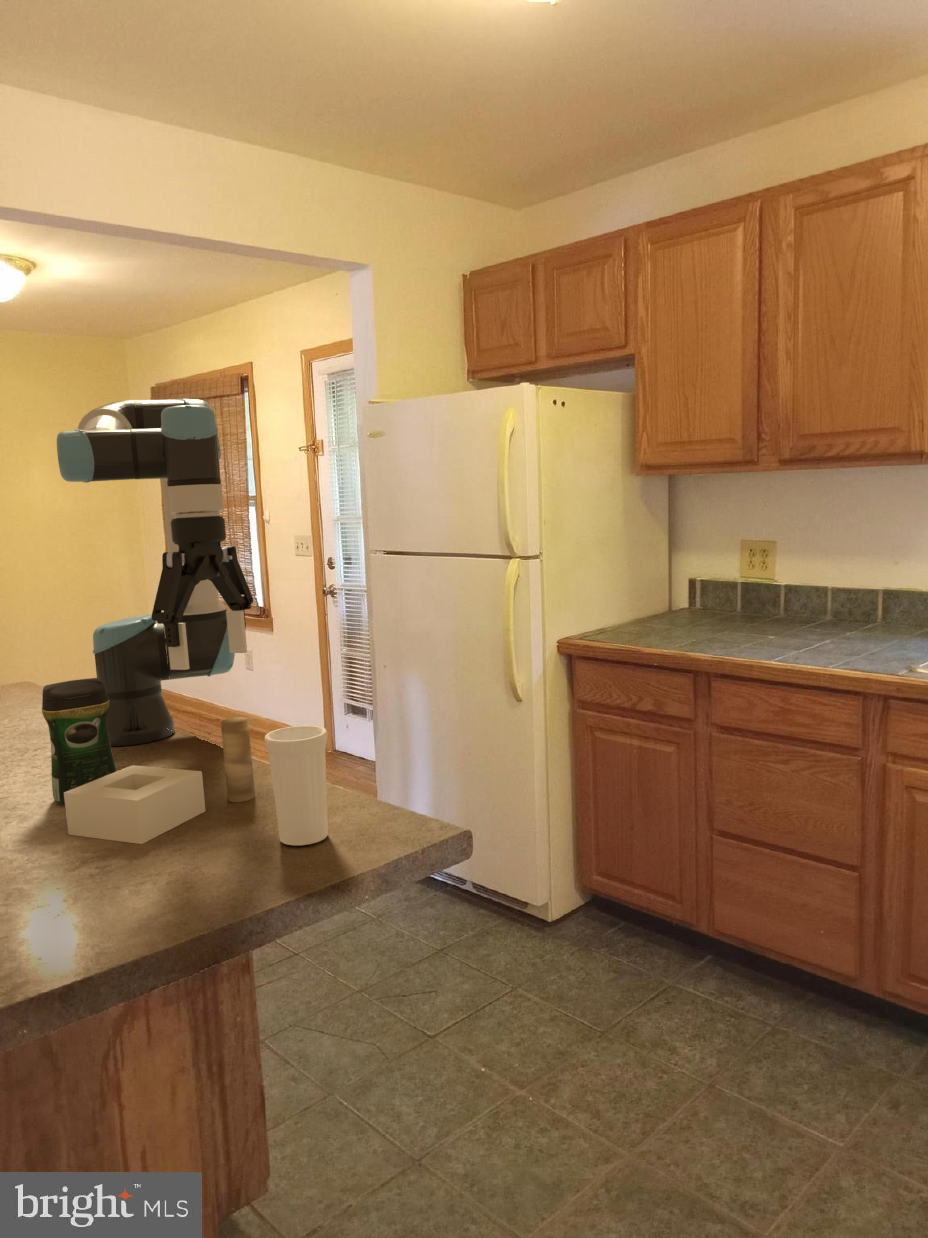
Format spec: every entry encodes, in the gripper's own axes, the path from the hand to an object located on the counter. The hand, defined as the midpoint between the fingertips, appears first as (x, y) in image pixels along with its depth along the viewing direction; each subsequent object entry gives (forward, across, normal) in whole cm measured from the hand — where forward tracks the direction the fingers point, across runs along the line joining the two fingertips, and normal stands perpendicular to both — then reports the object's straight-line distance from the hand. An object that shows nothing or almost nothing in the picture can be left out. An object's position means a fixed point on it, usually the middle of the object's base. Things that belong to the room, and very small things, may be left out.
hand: (210, 660), depth 133 cm
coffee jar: (+22, +4, -23) cm, 32 cm away
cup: (+22, +10, +21) cm, 32 cm away
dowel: (+21, -2, +2) cm, 22 cm away
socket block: (+21, +11, -6) cm, 25 cm away
